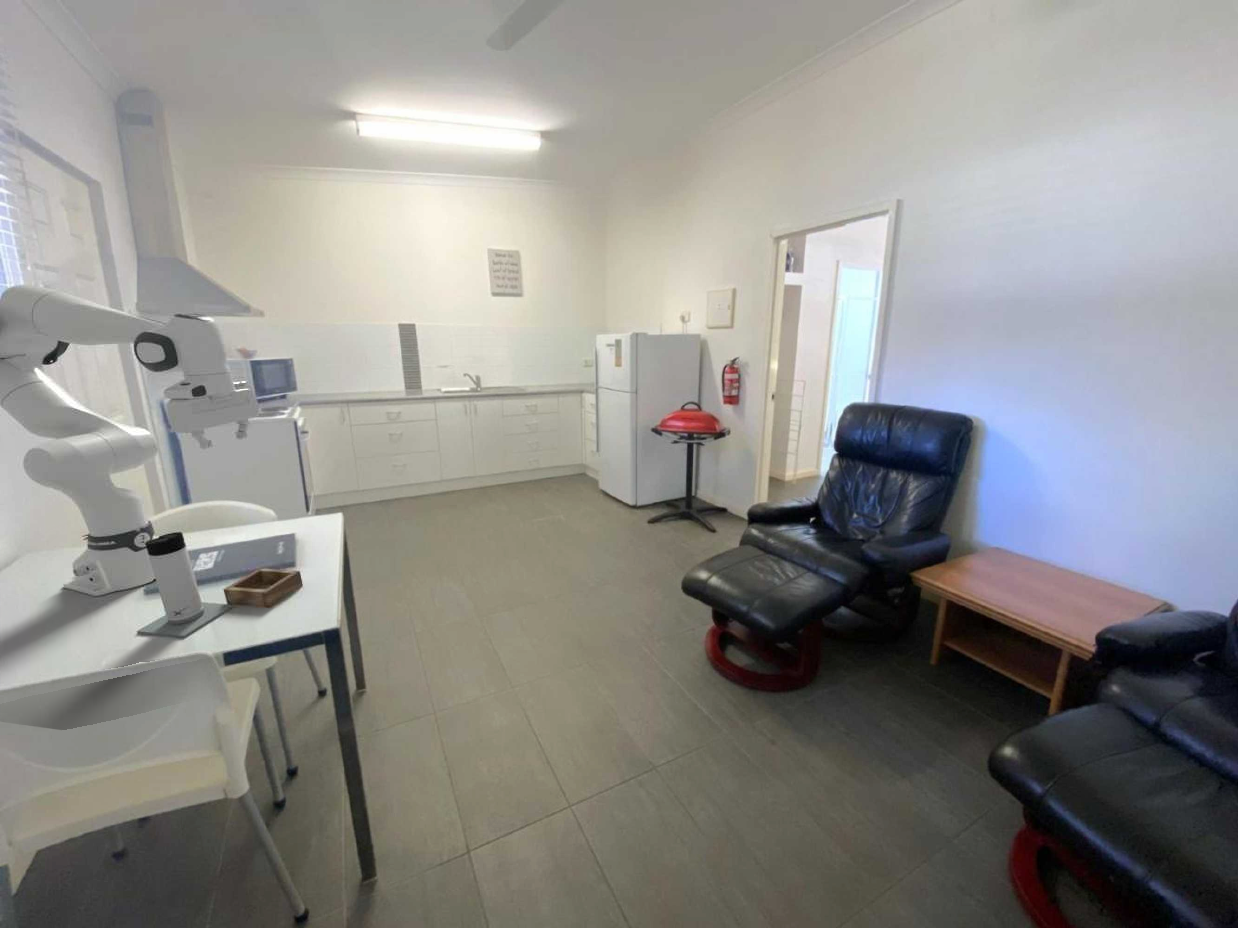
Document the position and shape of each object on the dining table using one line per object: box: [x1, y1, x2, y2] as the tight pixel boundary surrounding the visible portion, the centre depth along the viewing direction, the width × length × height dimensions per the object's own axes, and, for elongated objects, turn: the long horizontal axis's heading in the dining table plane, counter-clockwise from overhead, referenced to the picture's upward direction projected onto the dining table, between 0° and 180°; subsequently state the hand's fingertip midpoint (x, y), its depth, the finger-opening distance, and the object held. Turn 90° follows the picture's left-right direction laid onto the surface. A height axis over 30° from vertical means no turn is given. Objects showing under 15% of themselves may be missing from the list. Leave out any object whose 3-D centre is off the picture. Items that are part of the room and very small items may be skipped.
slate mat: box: [136, 601, 235, 639], centre depth 115 cm, size 12×12×1 cm
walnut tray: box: [222, 567, 303, 609], centre depth 124 cm, size 11×10×4 cm
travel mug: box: [145, 531, 204, 625], centre depth 112 cm, size 6×7×20 cm
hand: (225, 443), depth 123 cm, fingers open, 8 cm apart
